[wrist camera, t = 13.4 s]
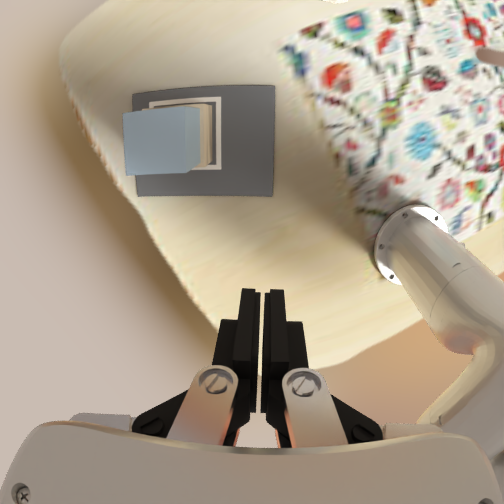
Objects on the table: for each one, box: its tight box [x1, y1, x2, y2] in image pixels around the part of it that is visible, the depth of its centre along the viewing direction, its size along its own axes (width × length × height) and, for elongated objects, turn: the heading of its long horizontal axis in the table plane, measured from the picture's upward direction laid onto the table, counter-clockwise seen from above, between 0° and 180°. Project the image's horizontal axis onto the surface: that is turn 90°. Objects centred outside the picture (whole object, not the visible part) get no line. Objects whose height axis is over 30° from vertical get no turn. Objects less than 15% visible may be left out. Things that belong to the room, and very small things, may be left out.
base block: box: [142, 104, 212, 168], centre depth 32 cm, size 7×7×5 cm
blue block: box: [123, 106, 200, 176], centre depth 27 cm, size 6×6×6 cm
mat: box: [133, 85, 275, 197], centre depth 34 cm, size 18×14×1 cm
